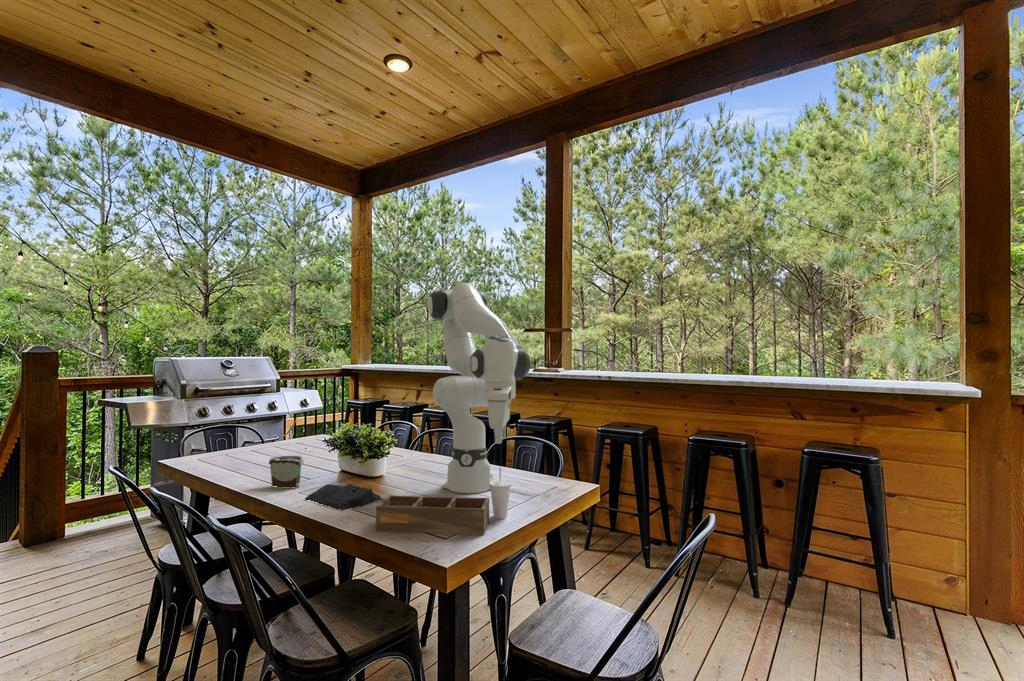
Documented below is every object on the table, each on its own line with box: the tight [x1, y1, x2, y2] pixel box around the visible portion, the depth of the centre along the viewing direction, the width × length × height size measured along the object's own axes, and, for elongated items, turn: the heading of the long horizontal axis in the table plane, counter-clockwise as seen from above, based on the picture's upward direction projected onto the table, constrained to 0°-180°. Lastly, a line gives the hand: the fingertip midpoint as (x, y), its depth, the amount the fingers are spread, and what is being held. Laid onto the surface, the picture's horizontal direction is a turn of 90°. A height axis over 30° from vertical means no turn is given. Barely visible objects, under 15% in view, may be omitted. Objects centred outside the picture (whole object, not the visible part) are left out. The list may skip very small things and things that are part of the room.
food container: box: [268, 455, 304, 489], centre depth 176 cm, size 12×6×10 cm, turn 80°
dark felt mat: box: [304, 483, 381, 511], centre depth 159 cm, size 15×22×5 cm
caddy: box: [375, 495, 490, 536], centre depth 135 cm, size 10×29×6 cm, turn 85°
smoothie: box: [489, 466, 512, 520], centre depth 142 cm, size 6×6×14 cm
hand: (500, 440), depth 143 cm, fingers open, 8 cm apart
